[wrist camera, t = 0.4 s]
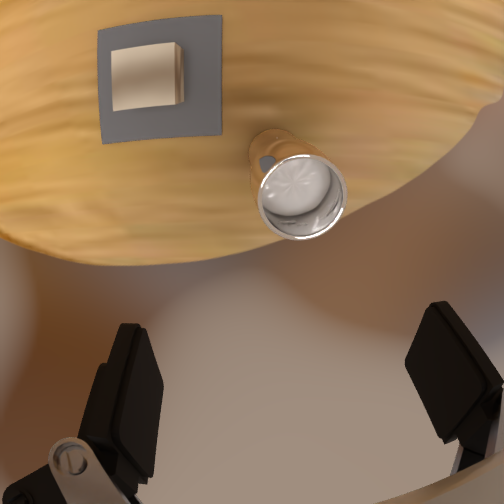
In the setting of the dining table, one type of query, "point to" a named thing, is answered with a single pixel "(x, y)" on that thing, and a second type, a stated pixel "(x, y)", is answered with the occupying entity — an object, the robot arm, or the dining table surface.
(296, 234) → the beer glass
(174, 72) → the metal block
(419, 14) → the dining table surface
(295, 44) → the dining table surface
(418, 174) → the dining table surface
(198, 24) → the gray mat
